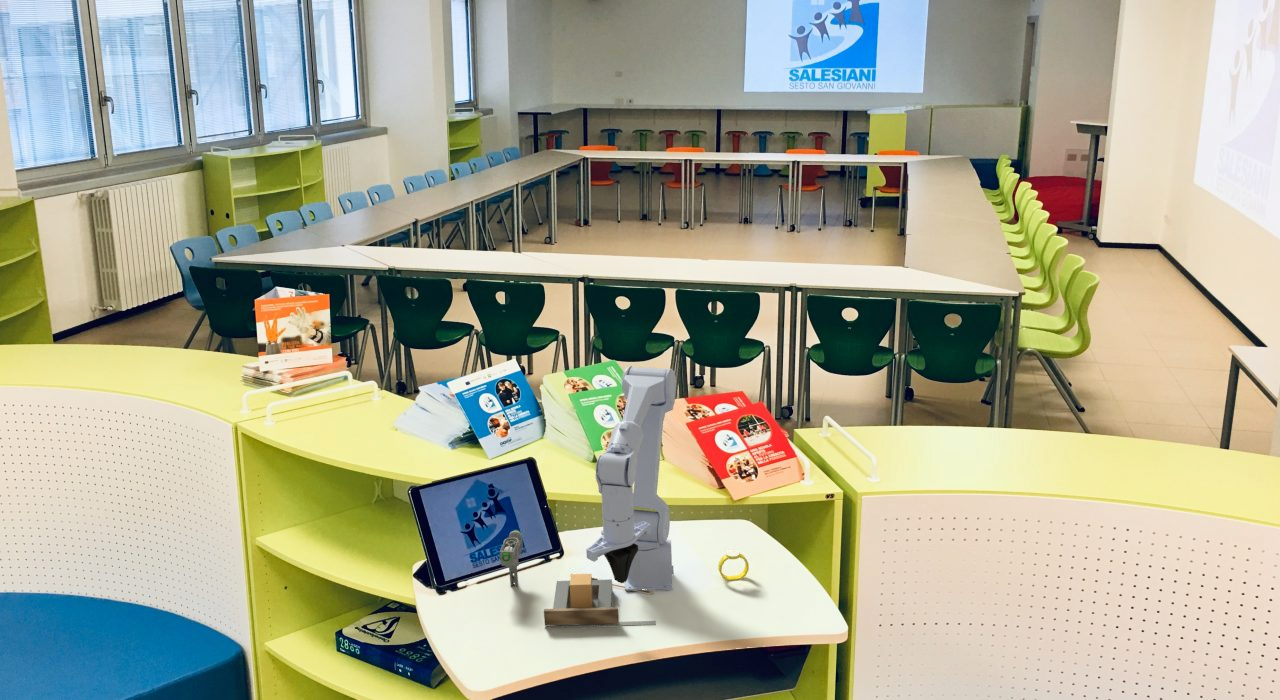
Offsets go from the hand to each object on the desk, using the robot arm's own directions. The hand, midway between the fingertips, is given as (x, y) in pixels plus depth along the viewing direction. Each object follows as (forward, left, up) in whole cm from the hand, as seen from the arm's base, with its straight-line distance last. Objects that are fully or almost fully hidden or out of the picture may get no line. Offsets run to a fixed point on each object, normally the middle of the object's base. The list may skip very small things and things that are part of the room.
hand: (620, 580), depth 204 cm
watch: (-22, -15, -10) cm, 29 cm away
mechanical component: (+22, -15, -10) cm, 29 cm away
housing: (+4, -6, -9) cm, 12 cm away
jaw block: (+8, -5, -9) cm, 13 cm away
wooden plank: (+8, 0, -9) cm, 12 cm away
